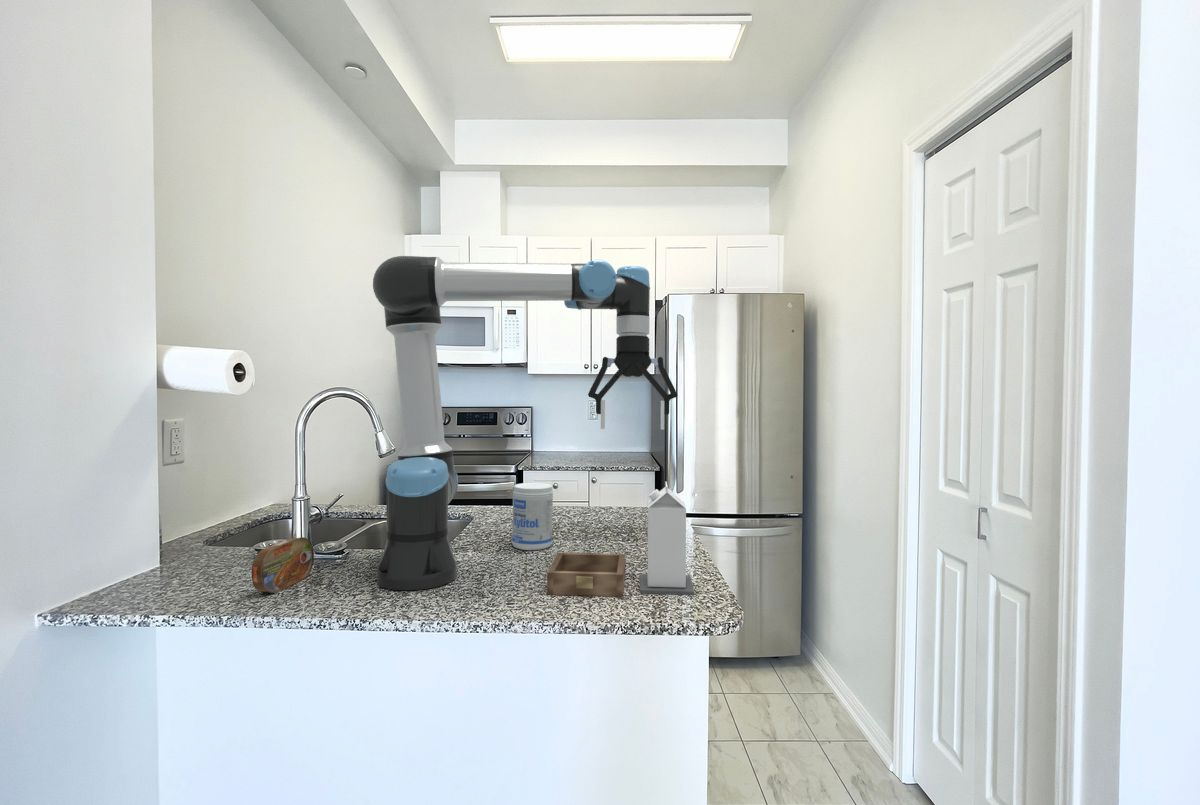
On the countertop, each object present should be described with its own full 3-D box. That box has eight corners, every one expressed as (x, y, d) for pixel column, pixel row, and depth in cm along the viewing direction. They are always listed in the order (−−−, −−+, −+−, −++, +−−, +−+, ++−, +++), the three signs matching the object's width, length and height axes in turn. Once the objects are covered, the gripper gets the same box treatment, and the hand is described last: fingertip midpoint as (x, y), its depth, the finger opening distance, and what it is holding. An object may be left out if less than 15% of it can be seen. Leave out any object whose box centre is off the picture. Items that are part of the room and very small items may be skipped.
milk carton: (683, 577, 120) (684, 481, 120) (685, 588, 113) (686, 487, 112) (647, 576, 120) (647, 480, 120) (647, 587, 113) (647, 486, 113)
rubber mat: (639, 593, 112) (639, 590, 112) (640, 576, 122) (640, 573, 122) (694, 594, 111) (694, 591, 111) (690, 578, 121) (690, 575, 121)
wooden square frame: (546, 595, 111) (546, 573, 111) (557, 571, 125) (557, 552, 125) (622, 597, 110) (623, 575, 110) (625, 573, 124) (625, 554, 124)
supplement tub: (508, 551, 141) (508, 488, 141) (515, 541, 151) (516, 482, 150) (550, 551, 141) (550, 488, 141) (554, 541, 150) (554, 482, 150)
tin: (263, 599, 108) (263, 552, 108) (247, 598, 109) (247, 551, 109) (315, 574, 123) (315, 533, 123) (301, 573, 124) (301, 532, 123)
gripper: (686, 337, 141) (686, 428, 141) (580, 337, 143) (579, 427, 143) (689, 334, 133) (688, 430, 134) (576, 334, 135) (576, 429, 136)
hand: (632, 429), depth 139 cm, fingers open, 13 cm apart
